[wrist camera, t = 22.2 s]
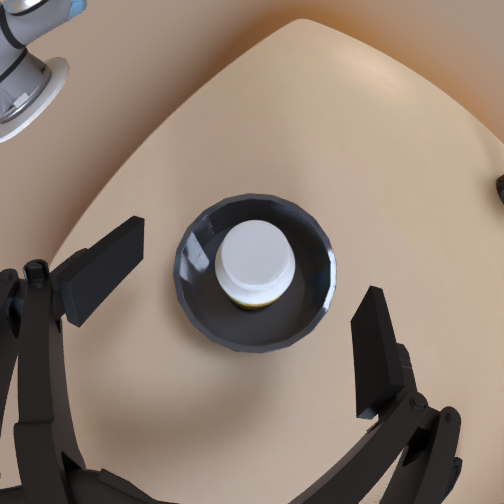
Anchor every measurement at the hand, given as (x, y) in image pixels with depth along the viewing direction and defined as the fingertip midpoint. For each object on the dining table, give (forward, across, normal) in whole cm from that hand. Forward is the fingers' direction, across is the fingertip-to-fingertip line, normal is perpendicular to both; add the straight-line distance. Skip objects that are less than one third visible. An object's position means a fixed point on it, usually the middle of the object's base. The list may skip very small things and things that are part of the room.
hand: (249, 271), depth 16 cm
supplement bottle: (+8, 0, -6) cm, 10 cm away
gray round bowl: (+8, 0, -7) cm, 11 cm away
